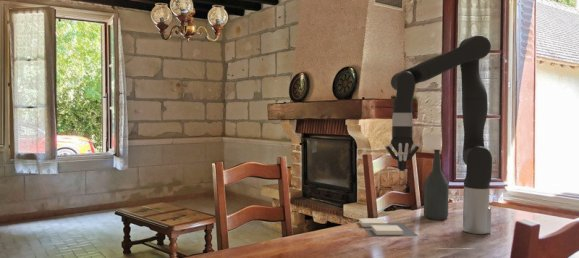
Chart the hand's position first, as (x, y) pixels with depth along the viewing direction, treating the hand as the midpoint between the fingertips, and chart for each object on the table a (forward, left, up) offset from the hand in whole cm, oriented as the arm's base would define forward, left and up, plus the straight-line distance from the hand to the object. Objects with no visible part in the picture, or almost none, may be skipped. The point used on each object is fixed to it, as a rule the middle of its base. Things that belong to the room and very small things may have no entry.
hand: (401, 170), depth 176 cm
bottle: (-23, -27, -24) cm, 43 cm away
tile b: (0, 0, -23) cm, 23 cm away
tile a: (+3, -12, -23) cm, 25 cm away
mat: (+4, -5, -24) cm, 25 cm away
